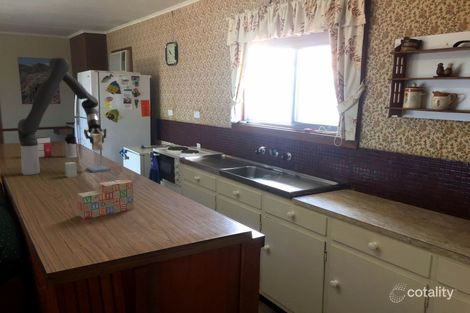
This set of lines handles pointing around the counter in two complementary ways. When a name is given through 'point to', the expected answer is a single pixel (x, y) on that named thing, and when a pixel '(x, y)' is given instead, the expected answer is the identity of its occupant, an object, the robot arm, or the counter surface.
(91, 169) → the slate board
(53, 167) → the counter surface
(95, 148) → the birch block
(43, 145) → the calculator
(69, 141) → the glass holder
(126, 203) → the stack of blocks
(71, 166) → the sage block
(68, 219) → the counter surface
